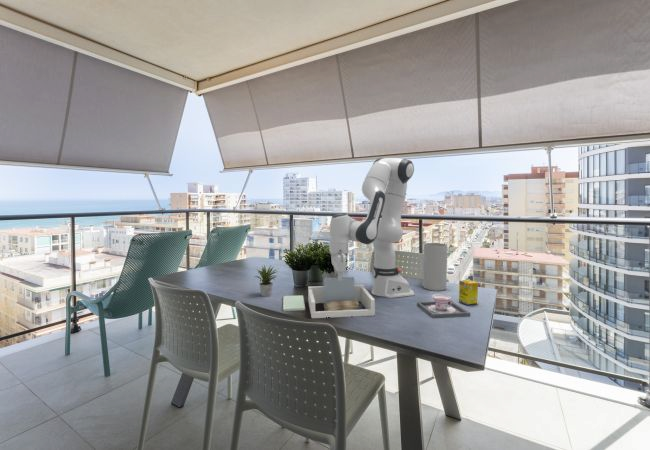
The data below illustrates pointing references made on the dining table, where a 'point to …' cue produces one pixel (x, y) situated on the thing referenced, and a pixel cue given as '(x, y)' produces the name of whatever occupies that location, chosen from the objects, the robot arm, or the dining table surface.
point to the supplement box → (468, 292)
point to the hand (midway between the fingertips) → (338, 278)
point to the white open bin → (359, 295)
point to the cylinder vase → (435, 266)
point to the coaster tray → (441, 315)
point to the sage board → (293, 303)
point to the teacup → (441, 304)
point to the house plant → (266, 281)
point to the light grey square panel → (338, 289)
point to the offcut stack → (341, 305)
